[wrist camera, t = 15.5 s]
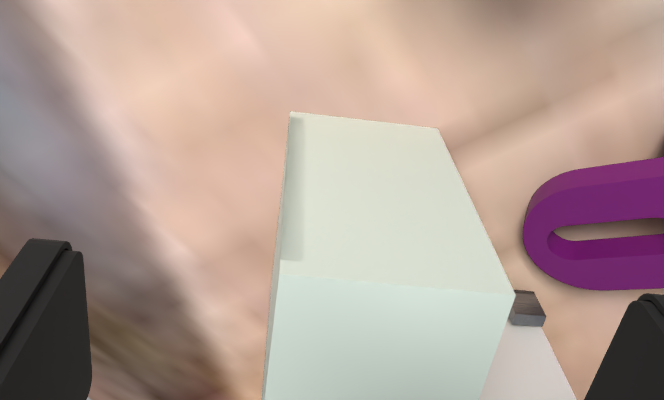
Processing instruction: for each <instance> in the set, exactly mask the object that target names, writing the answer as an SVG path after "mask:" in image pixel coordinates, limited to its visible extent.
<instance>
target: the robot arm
mask: <svg viewBox="0 0 664 400" xmlns="http://www.w3.org/2000/svg"><path fill="white" fill-rule="evenodd" d="M91 381H92V365H91V352H90V339H89V326H88V314H87V301H86V288H85V275H84V263H83V255H82V253H81V252H79V251H72V247H71V245H70V243H69V242H67V241H57V240H46V239H34V238H33V239H29V240H28V241H27V243H26V244H25V245H24V247H23V248H22V249H21V251H20V252H19V254H18V255H17V256H16V258H15V259H14V260H13V262H12V263H11V265H10V266H9V267H8V269H7V270H6V272H5V273H4V274H3V276H2V277H1V279H0V400H86V399H87V397H88V394H89V391H90V387H91ZM584 400H664V295H660V294H649V293H647V294H643V295H642V296H640V297H639V298H638V300H637V301H633V302H631V303H630V304H629V306H628V308H627V310H626V312H625V314H624V316H623V318H622V320H621V322H620V325H619V327H618V329H617V331H616V333H615V335H614V337H613V339H612V342H611V344H610V346H609V348H608V350H607V352H606V354H605V357H604V359H603V361H602V363H601V365H600V367H599V369H598V371H597V374H596V376H595V378H594V380H593V382H592V384H591V386H590V388H589V391H588V393H587V395H586V397H585V399H584Z"/></svg>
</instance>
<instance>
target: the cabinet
mask: <svg viewBox="0 0 664 400" xmlns="http://www.w3.org/2000/svg"><path fill="white" fill-rule="evenodd" d="M515 296H516V294H515V292H514V290H513V288H512V286H511V284H510V282H509V279H508V277H507V275H506V273H505V271H504V269H503V267H502V265H501V262H500V260H499V258H498V256H497V254H496V252H495V250H494V247H493V245H492V243H491V241H490V239H489V237H488V235H487V233H486V230H485V228H484V226H483V224H482V222H481V220H480V218H479V215H478V213H477V211H476V209H475V207H474V205H473V203H472V201H471V198H470V196H469V194H468V192H467V190H466V188H465V186H464V183H463V181H462V179H461V177H460V175H459V173H458V171H457V168H456V166H455V164H454V162H453V160H452V158H451V156H450V154H449V151H448V149H447V147H446V145H445V143H444V141H443V139H442V136H441V134H440V132H439V130H438V128H432V127H423V126H415V125H406V124H398V123H389V122H380V121H372V120H363V119H354V118H346V117H337V116H328V115H320V114H311V113H302V112H294V111H290V117H289V126H288V136H287V145H286V154H285V163H284V172H283V181H282V190H281V199H280V208H279V217H278V227H277V236H276V245H275V254H274V263H273V272H272V281H271V293H270V305H269V317H268V329H267V341H266V353H265V365H264V377H263V388H262V400H479V398H480V395H481V392H482V389H483V386H484V384H485V381H486V378H487V375H488V372H489V369H490V367H491V364H492V361H493V358H494V355H495V353H496V350H497V347H498V344H499V341H500V339H501V336H502V333H503V330H504V327H505V324H506V322H507V319H508V316H509V313H510V310H511V308H512V305H513V302H514V299H515Z"/></svg>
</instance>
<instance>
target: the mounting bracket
mask: <svg viewBox="0 0 664 400" xmlns="http://www.w3.org/2000/svg"><path fill="white" fill-rule="evenodd" d="M643 218H663V219H664V157H661V158H654V159H647V160H640V161H633V162H626V163H619V164H612V165H605V166H598V167H591V168H584V169H578V170H573V171H569V172H565V173H563V174H560V175H558V176H556V177H554V178H552V179H550V180H549V181H547V182H546V183H544V184H543V185H542V186H541V187H540V188H539V189H538V190H537V191H536V192H535V194H534V195H533V197H532V198H531V200H530V203H529V205H528V209H527V214H526V218H525V223H524V227H523V241H524V245H525V248H526V250H527V252H528V254H529V256H530V257H531V259H532V260H533V261H534V263H535V264H536V265H537V266H538V267H539V268H540V269H541V270H543V271H544V272H545V273H547V274H548V275H550V276H551V277H553V278H555V279H557V280H559V281H561V282H563V283H566V284H568V285H571V286H575V287H578V288H583V289H589V290H630V289H655V288H664V234H658V235H645V236H633V237H621V238H609V239H597V240H585V241H569V240H565V239H563V238H561V237H559V236H558V235H556V234H555V233H554V232H553V230H554V229H556V228H558V227H562V226H570V225H580V224H591V223H601V222H612V221H622V220H632V219H643Z"/></svg>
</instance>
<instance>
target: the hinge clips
mask: <svg viewBox="0 0 664 400" xmlns="http://www.w3.org/2000/svg"><path fill="white" fill-rule="evenodd" d="M514 292H515V294H516V296H515V299H514V302H513V305H512V308H511V310H510V313H509V319H510V321H511V323H512V324H516V325H528V326H539V327H542V326H543V324H544V321H545V319H546V315H545V313H544V311H543V309H542V307H541V305H540V303H539V301H538V299H537V298H536V296H535V294H534V292H531V291H520V290H514Z"/></svg>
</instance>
